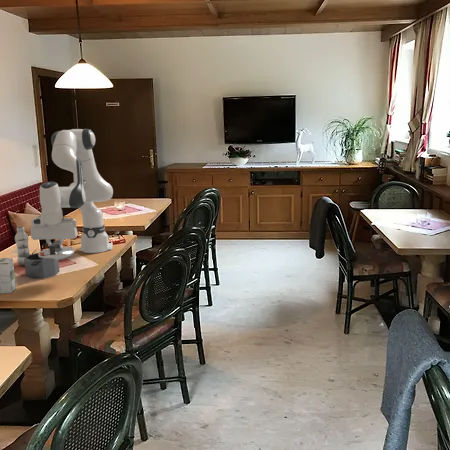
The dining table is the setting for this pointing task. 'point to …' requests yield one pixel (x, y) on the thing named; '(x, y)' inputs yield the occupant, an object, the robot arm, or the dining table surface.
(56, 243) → the lid
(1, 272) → the syrup box
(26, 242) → the plastic bottle
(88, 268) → the dining table surface
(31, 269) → the pot
